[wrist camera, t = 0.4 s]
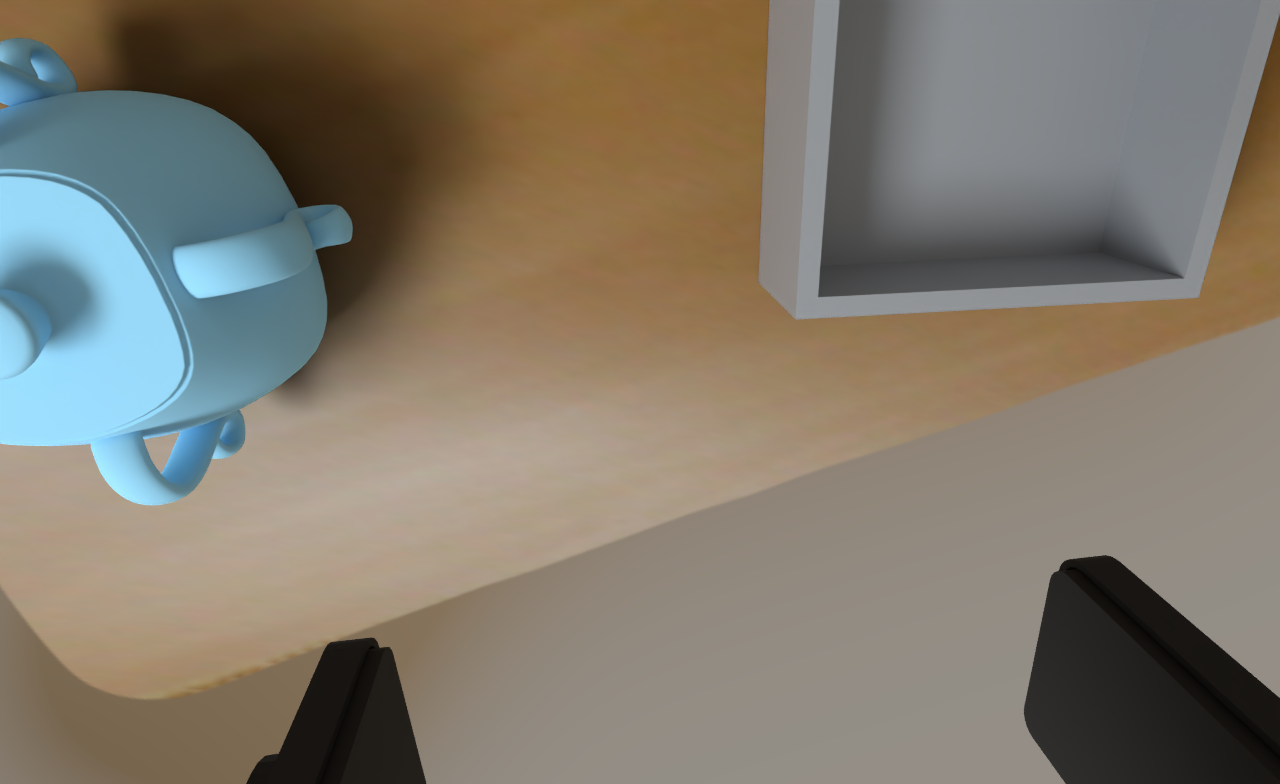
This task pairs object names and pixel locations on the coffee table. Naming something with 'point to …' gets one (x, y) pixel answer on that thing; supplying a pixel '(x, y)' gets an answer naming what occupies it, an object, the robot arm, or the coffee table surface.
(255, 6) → the coffee table surface
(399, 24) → the coffee table surface
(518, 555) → the coffee table surface
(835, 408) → the coffee table surface
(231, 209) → the decorative pot
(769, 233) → the grey box
